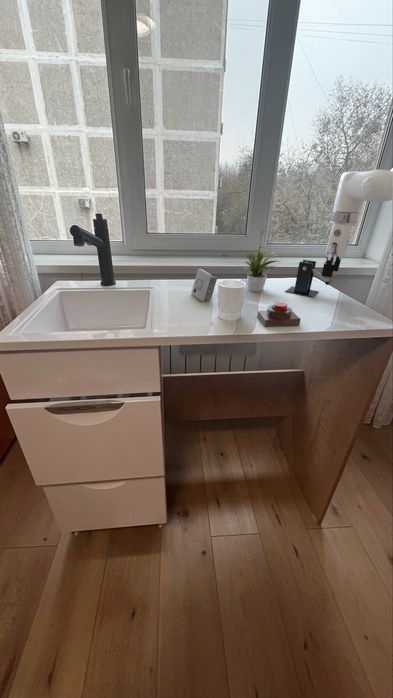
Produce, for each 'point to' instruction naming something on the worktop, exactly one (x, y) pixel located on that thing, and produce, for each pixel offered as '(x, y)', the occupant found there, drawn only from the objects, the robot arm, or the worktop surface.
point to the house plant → (258, 270)
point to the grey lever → (321, 276)
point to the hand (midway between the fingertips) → (329, 273)
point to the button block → (278, 318)
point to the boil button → (280, 306)
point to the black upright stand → (304, 280)
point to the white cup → (230, 299)
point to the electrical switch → (203, 285)
